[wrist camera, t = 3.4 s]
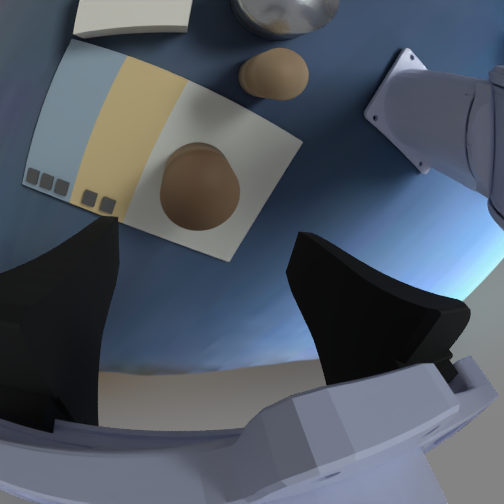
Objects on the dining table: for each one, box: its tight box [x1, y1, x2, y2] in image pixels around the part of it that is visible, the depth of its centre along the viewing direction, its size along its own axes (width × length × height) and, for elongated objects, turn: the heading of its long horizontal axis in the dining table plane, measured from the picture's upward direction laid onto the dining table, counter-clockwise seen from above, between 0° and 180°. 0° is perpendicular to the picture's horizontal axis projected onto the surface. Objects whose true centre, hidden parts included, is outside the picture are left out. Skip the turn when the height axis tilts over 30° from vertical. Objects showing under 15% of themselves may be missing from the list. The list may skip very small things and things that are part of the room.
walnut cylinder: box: [160, 142, 240, 231], centre depth 17 cm, size 4×4×4 cm
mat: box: [22, 39, 303, 262], centre depth 17 cm, size 18×11×1 cm, turn 60°
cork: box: [238, 48, 309, 100], centre depth 14 cm, size 3×3×4 cm
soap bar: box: [73, 0, 193, 39], centre depth 11 cm, size 7×4×2 cm, turn 82°
